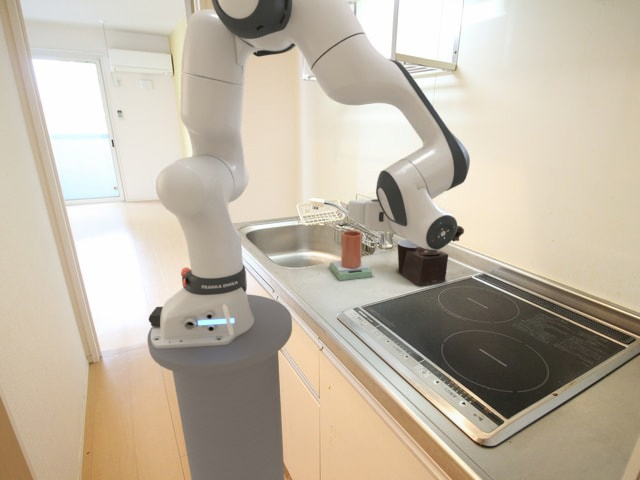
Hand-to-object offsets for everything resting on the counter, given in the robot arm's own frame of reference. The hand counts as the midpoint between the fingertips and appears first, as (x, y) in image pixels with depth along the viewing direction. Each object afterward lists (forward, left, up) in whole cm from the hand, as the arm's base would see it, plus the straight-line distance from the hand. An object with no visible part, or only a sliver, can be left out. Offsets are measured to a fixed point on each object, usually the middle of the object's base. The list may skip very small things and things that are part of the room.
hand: (377, 202), depth 93 cm
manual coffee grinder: (+25, +10, -28) cm, 39 cm away
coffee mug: (+21, +16, -28) cm, 39 cm away
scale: (+1, +21, -28) cm, 35 cm away
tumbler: (+1, +21, -25) cm, 33 cm away
